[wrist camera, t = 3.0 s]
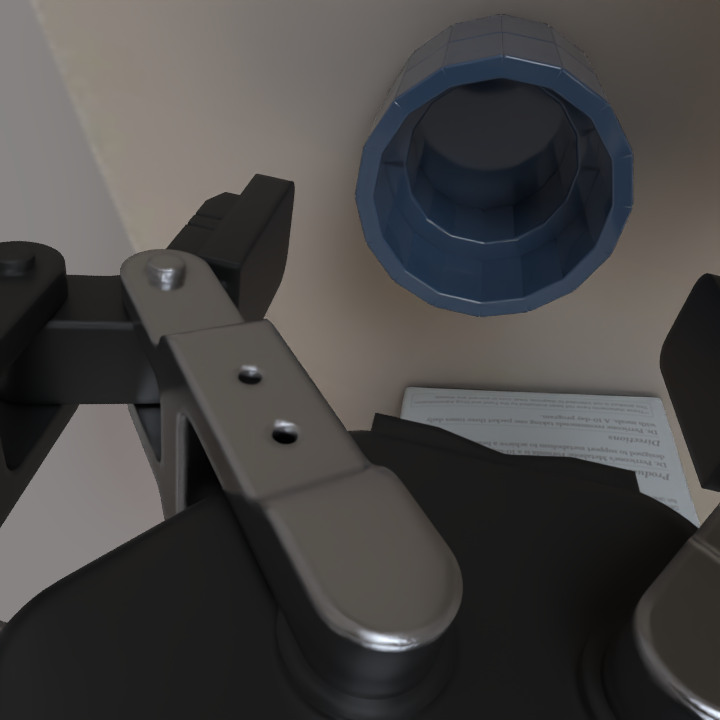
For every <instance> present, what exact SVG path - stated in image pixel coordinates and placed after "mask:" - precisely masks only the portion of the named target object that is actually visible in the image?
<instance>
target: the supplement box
mask: <svg viewBox="0 0 720 720" xmlns="http://www.w3.org/2000/svg"><path fill="white" fill-rule="evenodd" d="M400 418H401V419H406V420H410V421H414V422H419V423H423V424H428V425H432V426H437V427H440V428H442V429H445V430H447V431H450V432H452V433H455V434H457V435H459V436H462V437H464V438H467V439H469V440H471V441H474V442H476V443H479V444H481V445H484V446H486V447H488V448H491V449H493V450H496V451H498V452H501V453H505V454H511V455H536V456H563V457H574V458H578V459H583V460H587V461H592V462H596V463H601V464H605V465H609V466H614V467H618V468H623V469H627V470H632V471H635V473H636V478H637V482H638V486H639V490H640V492H641V493H643V494H646V495H648V496H650V497H652V498H654V499H656V500H658V501H660V502H662V503H663V504H665V505H667V506H668V507H670V508H672V509H673V510H675V511H677V512H678V513H679V514H681V515H682V516H684V517H685V518H686V519H688V520H689V521H691V522H692V523H693V524H694V525H695V526H697V527H698V528H700V527H701V526H700V523H699V520H698V517H697V513H696V510H695V508H694V505H693V502H692V498H691V494H690V491H689V488H688V484H687V481H686V478H685V475H684V471H683V468H682V464H681V462H680V459H679V455H678V452H677V448H676V445H675V441H674V438H673V435H672V432H671V429H670V426H669V422H668V419H667V416H666V413H665V409H664V406H663V403H662V400H661V399H660V398H653V397H630V396H607V395H583V394H558V393H534V392H509V391H485V390H463V389H438V388H419V387H408V388H406V390H405V393H404V398H403V403H402V409H401V415H400Z"/></svg>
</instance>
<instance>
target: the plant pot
mask: <svg viewBox="0 0 720 720" xmlns="http://www.w3.org/2000/svg"><path fill="white" fill-rule="evenodd" d="M355 200H356V204H357V208H358V212H359V217H360V221H361V225H362V229H363V233H364V238H365V241H366V242H367V245H368V247H369V248H370V249H371V251H372V252H373V254H374V255H375V256H376V258H377V259H378V260H379V262H380V263H381V265H382V266H383V267H384V269H385V270H386V271H387V273H388V274H389V276H390V277H391V278H392V280H394V281H395V282H396V283H397V284H399V285H400V286H402V287H403V288H405V289H407V290H408V291H410V292H411V293H413V294H414V295H416V296H417V297H419V298H421V299H422V300H424V301H425V302H427V303H428V304H430V305H432V306H434V307H438V308H442V309H446V310H451V311H455V312H459V313H464V314H468V315H472V316H477V317H479V316H480V317H487V316H496V315H506V314H516V313H525V312H528V311H532V310H534V309H536V308H539V307H541V306H543V305H545V304H547V303H549V302H552V301H554V300H556V299H558V298H560V297H562V296H565V295H567V294H569V293H571V292H573V291H574V290H576V289H577V288H578V287H579V286H580V285H581V284H582V283H583V282H584V281H585V280H586V279H587V278H588V277H589V276H590V275H591V274H592V273H593V272H594V271H595V270H596V269H597V268H598V267H599V266H601V265H602V264H603V263H604V262H605V261H606V260H607V259H608V258H609V257H610V255H611V254H612V253H613V251H614V248H615V246H616V244H617V242H618V239H619V237H620V235H621V233H622V230H623V228H624V226H625V224H626V222H627V219H628V217H629V215H630V213H631V210H632V206H633V153H632V148H631V146H630V144H629V142H628V140H627V138H626V136H625V134H624V132H623V130H622V127H621V125H620V123H619V121H618V119H617V117H616V115H615V113H614V111H613V109H612V106H611V104H610V102H609V100H608V98H607V96H606V94H605V92H604V90H603V88H602V86H601V84H600V81H599V79H598V77H597V75H596V73H595V71H594V69H593V67H592V65H591V63H590V61H589V59H588V57H587V56H586V55H585V54H584V52H583V51H582V50H581V49H579V48H578V47H577V46H576V45H574V44H573V43H572V42H571V41H569V40H568V39H567V38H565V37H564V36H563V35H562V34H560V33H559V32H558V31H557V30H555V29H554V28H553V27H551V26H548V24H546V23H541V22H536V21H532V20H527V19H523V18H518V17H514V16H509V15H505V14H503V15H499V14H498V15H494V16H489V17H484V18H480V19H475V20H470V21H465V22H461V23H456V24H454V25H451V26H450V27H448V28H447V29H445V30H444V31H442V32H441V33H440V34H438V35H437V36H435V37H434V38H433V39H431V40H430V41H428V42H427V43H425V44H424V45H423V46H421V47H420V48H418V49H417V50H415V51H414V53H413V54H412V55H411V56H410V58H409V59H408V61H407V62H406V64H405V66H404V67H403V69H402V70H401V72H400V73H399V75H398V76H397V78H396V80H395V81H394V83H393V84H392V86H391V87H390V89H389V91H388V93H387V95H386V98H385V100H384V102H383V104H382V106H381V109H380V111H379V113H378V115H377V117H376V120H375V122H374V124H373V126H372V128H371V131H370V133H369V135H368V137H367V140H366V142H365V145H364V147H363V151H362V156H361V162H360V168H359V174H358V179H357V185H356V191H355Z"/></svg>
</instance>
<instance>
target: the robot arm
mask: <svg viewBox="0 0 720 720" xmlns="http://www.w3.org/2000/svg"><path fill="white" fill-rule="evenodd" d="M294 191H295V186H294V182H293V181H288V180H284V179H279V178H274V177H270V176H265V175H261V174H256V175H255V176H254V177H253V178H252V180H251V181H250V182H249V184H248V185H247V186H246V188H245V189H244V191H243V192H242V193H241V195H237V194H232V193H228V192H225V193H222V194H220V195H218V196H215V197H213V198H211V199H208V200H206V201H205V203H204V204H203V205H202V206H201V207H200V209H199V210H198V211H197V212H196V215H194V216H193V217H192V218H191V219H190V221H189V222H188V225H185V227H184V228H183V229H182V230H181V231H180V233H179V234H178V235H177V236H176V237H175V239H174V240H173V241H172V242H171V243H170V245H169V246H168V247H167V248H166V249H155V250H148V251H144V252H140V253H137V254H134V255H133V256H131V257H129V258H128V259H127V260H125V261H124V262H123V264H122V266H121V268H120V275H117V276H87V275H86V276H85V275H66V266H65V260H64V257H63V256H62V255H61V253H60V252H58V251H57V250H55V249H53V248H52V247H49V246H46V245H44V244H39V243H34V242H25V241H11V242H2V243H0V527H1V526H2V524H3V523H4V521H5V520H6V518H7V516H8V515H9V513H10V512H11V510H12V509H13V507H14V506H15V504H16V502H17V501H18V499H19V498H20V496H21V495H22V493H23V492H24V490H25V488H26V487H27V486H28V484H29V482H30V481H31V479H32V478H33V476H34V475H35V473H36V472H37V470H38V468H39V467H40V465H41V464H42V462H43V460H44V459H45V458H46V456H47V454H48V453H49V451H50V450H51V448H52V447H53V445H54V444H55V442H56V440H57V439H58V437H59V436H60V434H61V433H62V431H63V430H64V428H65V427H66V425H67V424H68V422H69V420H70V419H71V417H72V416H73V414H74V413H75V411H76V410H77V408H78V406H79V404H127V405H128V410H129V412H130V415H131V417H132V420H133V423H134V425H135V428H136V430H137V432H138V435H139V438H140V440H141V443H142V446H143V448H144V451H145V453H146V456H147V458H148V461H149V463H150V466H151V468H152V471H153V473H154V476H155V479H156V481H157V484H158V488H159V492H160V496H161V502H162V508H163V514H164V519H165V521H163V522H161V523H160V524H158V525H156V526H155V527H153V528H151V529H149V530H148V531H146V532H144V533H142V534H140V535H138V536H137V537H135V538H133V539H131V540H130V541H128V542H126V543H124V544H123V545H121V546H119V547H117V548H116V549H114V550H112V551H110V552H108V553H107V554H105V555H103V556H101V557H99V558H98V559H96V560H94V561H92V562H91V563H89V564H87V565H85V566H84V567H82V568H80V569H78V570H76V571H75V572H73V573H71V574H69V575H68V576H66V577H64V578H62V579H61V580H59V581H57V582H56V583H54V584H53V585H51V586H49V587H48V588H46V589H45V590H43V591H42V592H40V593H39V594H38V595H37V596H35V597H34V598H33V599H32V600H30V601H29V602H28V603H27V604H26V605H24V606H23V607H22V608H21V610H19V611H18V613H16V614H15V615H14V617H13V618H12V619H11V620H10V621H9V622H8V623H6V622H3V621H0V720H720V503H719V505H718V506H717V507H716V508H715V509H714V511H713V512H712V513H711V514H710V516H709V517H708V518H707V519H706V520H705V522H704V523H703V524H702V525H701V527H700V528H698V527H697V526H695V525H694V524H693V523H692V522H691V521H689V520H688V519H686V518H685V517H684V516H682V515H681V514H679V513H678V512H677V511H675V510H673V509H672V508H670V507H668V506H667V505H665V504H663V503H662V502H660V501H658V500H656V499H654V498H652V497H650V496H648V495H646V494H643V493H641V492H640V490H639V486H638V482H637V478H636V473H635V471H632V470H627V469H623V468H618V467H614V466H609V465H605V464H601V463H596V462H592V461H587V460H583V459H578V458H574V457H563V456H536V455H511V454H505V453H501V452H498V451H496V450H493V449H491V448H488V447H486V446H484V445H481V444H479V443H476V442H474V441H471V440H469V439H467V438H464V437H462V436H459V435H457V434H455V433H452V432H450V431H447V430H445V429H442V428H440V427H437V426H432V425H428V424H423V423H419V422H414V421H410V420H406V419H401V418H397V417H392V416H388V415H383V414H379V413H375V416H374V420H373V424H372V429H371V431H364V430H359V431H347V430H346V428H345V427H344V425H343V424H342V422H341V421H340V419H339V418H338V417H337V415H336V414H335V412H334V411H333V409H332V408H331V407H330V405H329V404H328V402H327V401H326V399H325V398H324V397H323V395H322V394H321V392H320V391H319V389H318V388H317V386H316V385H315V384H314V382H313V381H312V379H311V378H310V376H309V375H308V374H307V372H306V371H305V369H304V368H303V366H302V365H301V364H300V362H299V361H298V359H297V358H296V356H295V355H294V353H293V352H292V351H291V349H290V348H289V346H288V345H287V343H286V342H285V341H284V339H283V338H282V336H281V335H280V333H279V332H278V331H277V329H276V328H275V326H274V325H273V324H272V323H271V322H270V321H269V320H267V319H263V318H264V316H265V314H266V312H267V310H268V308H269V306H270V304H271V302H272V300H273V298H274V296H275V294H276V292H277V290H278V288H279V286H280V283H281V281H282V278H283V274H284V270H285V266H286V261H287V255H288V246H289V237H290V229H291V220H292V211H293V202H294ZM660 370H661V373H662V376H663V379H664V381H665V384H666V387H667V390H668V393H669V396H670V399H671V401H672V404H673V407H674V410H675V413H676V416H677V419H678V421H679V424H680V427H681V430H682V433H683V436H684V439H685V442H686V444H687V447H688V450H689V453H690V456H691V459H692V462H693V464H694V467H695V470H696V473H697V476H698V479H699V482H700V484H701V487H702V488H704V489H708V490H713V491H717V492H720V276H718V275H713V274H708V273H707V274H704V275H702V276H701V277H700V278H699V279H698V281H697V282H696V283H695V285H694V287H693V289H692V290H691V292H690V294H689V296H688V298H687V300H686V302H685V303H684V305H683V307H682V309H681V311H680V313H679V315H678V316H677V318H676V320H675V322H674V324H673V326H672V328H671V329H670V331H669V333H668V335H667V337H666V339H665V341H664V344H663V346H662V350H661V355H660Z"/></svg>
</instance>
